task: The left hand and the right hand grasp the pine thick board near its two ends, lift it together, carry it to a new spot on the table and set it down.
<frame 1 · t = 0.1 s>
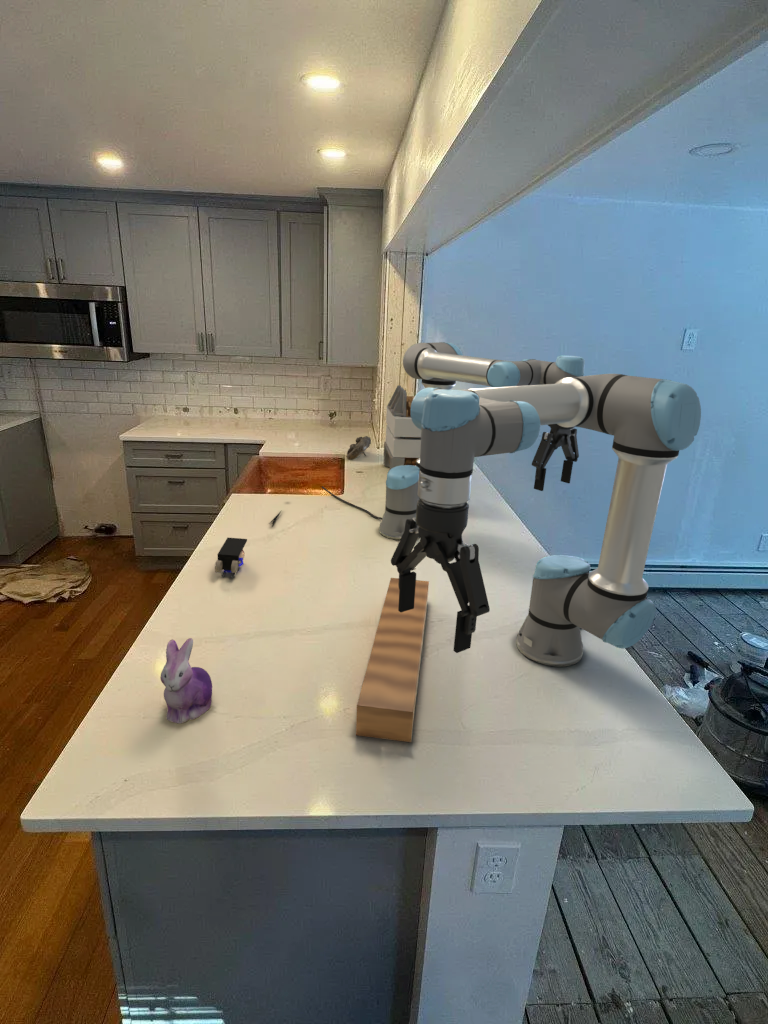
left hand: (552, 486, 166), 28 cm above the counter, tool pointing down, fingers open, 13 cm apart
right hand: (432, 628, 89), 28 cm above the counter, tool pointing down, fingers open, 13 cm apart
fossil: (358, 455, 302), on the counter
figurine: (189, 709, 110), on the counter
feather: (279, 514, 213), on the counter
figurine character: (232, 569, 168), on the counter
thick board: (398, 657, 129), on the counter
toy: (445, 498, 240), on the counter
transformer: (419, 473, 275), on the counter
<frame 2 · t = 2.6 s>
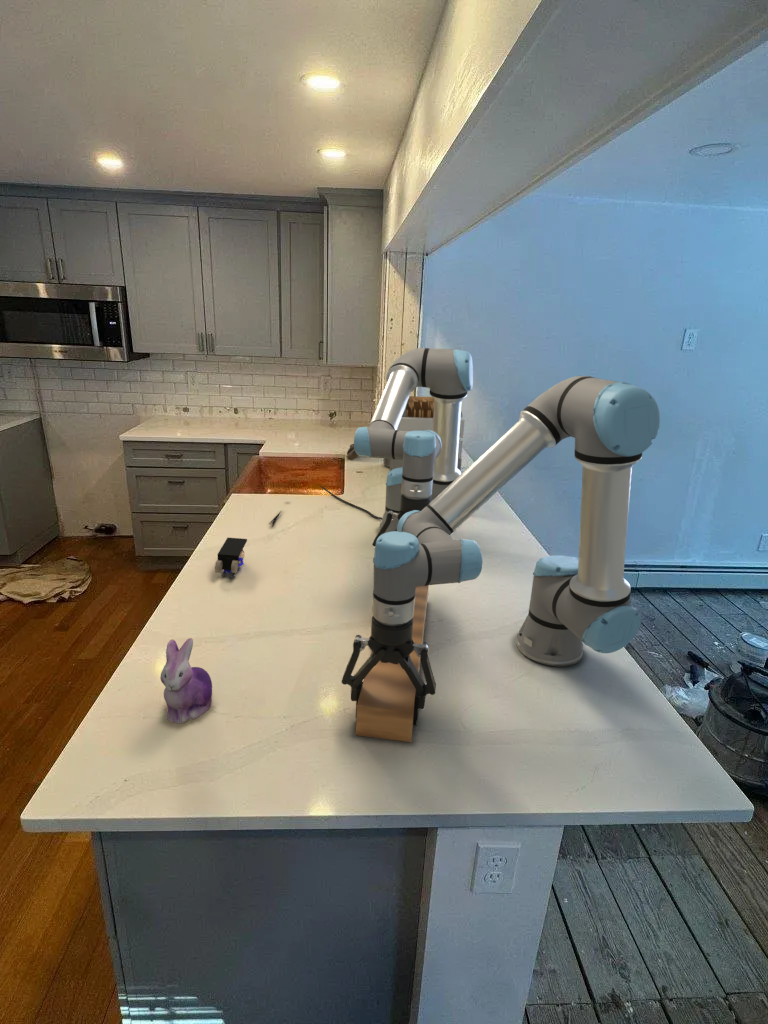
left hand: (411, 574, 145), 11 cm above the counter, tool pointing down, fingers open, 13 cm apart
right hand: (386, 717, 109), 1 cm above the counter, tool pointing down, fingers closed on thick board, 10 cm apart
thick board: (398, 657, 129), on the counter, touching right hand
everything else where it was.
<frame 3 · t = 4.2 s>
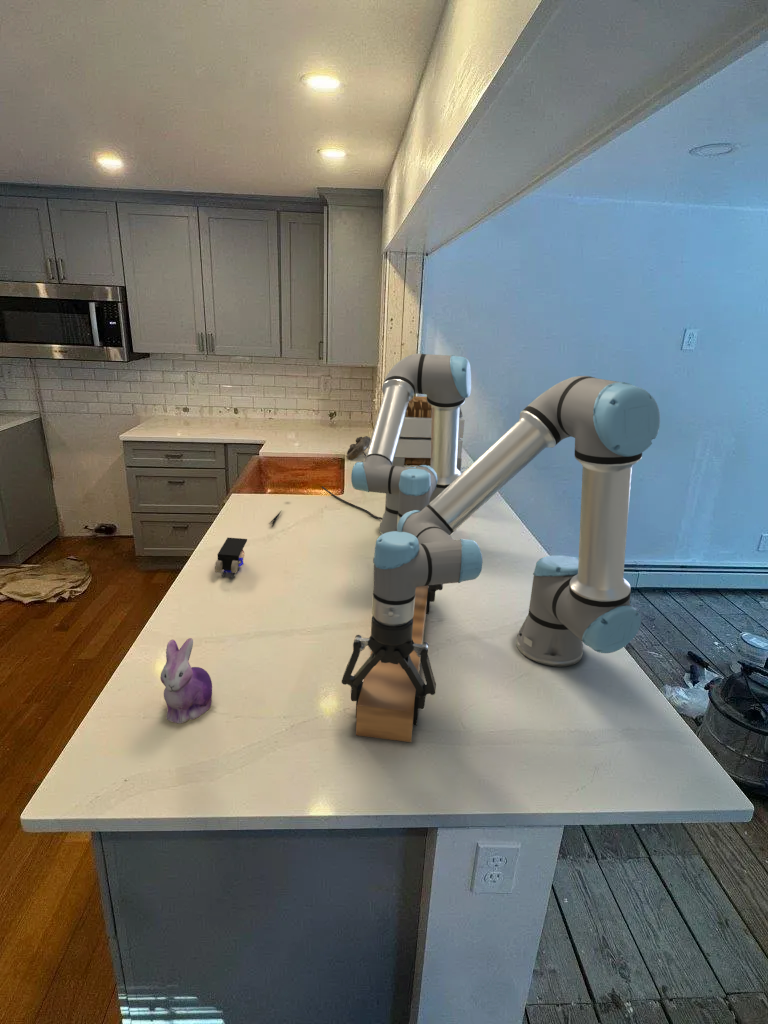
left hand: (406, 609, 149), 1 cm above the counter, tool pointing down, fingers closed on thick board, 10 cm apart
right hand: (386, 717, 109), 1 cm above the counter, tool pointing down, fingers closed on thick board, 10 cm apart
thick board: (398, 657, 129), on the counter, touching left hand, right hand
everything else where it was.
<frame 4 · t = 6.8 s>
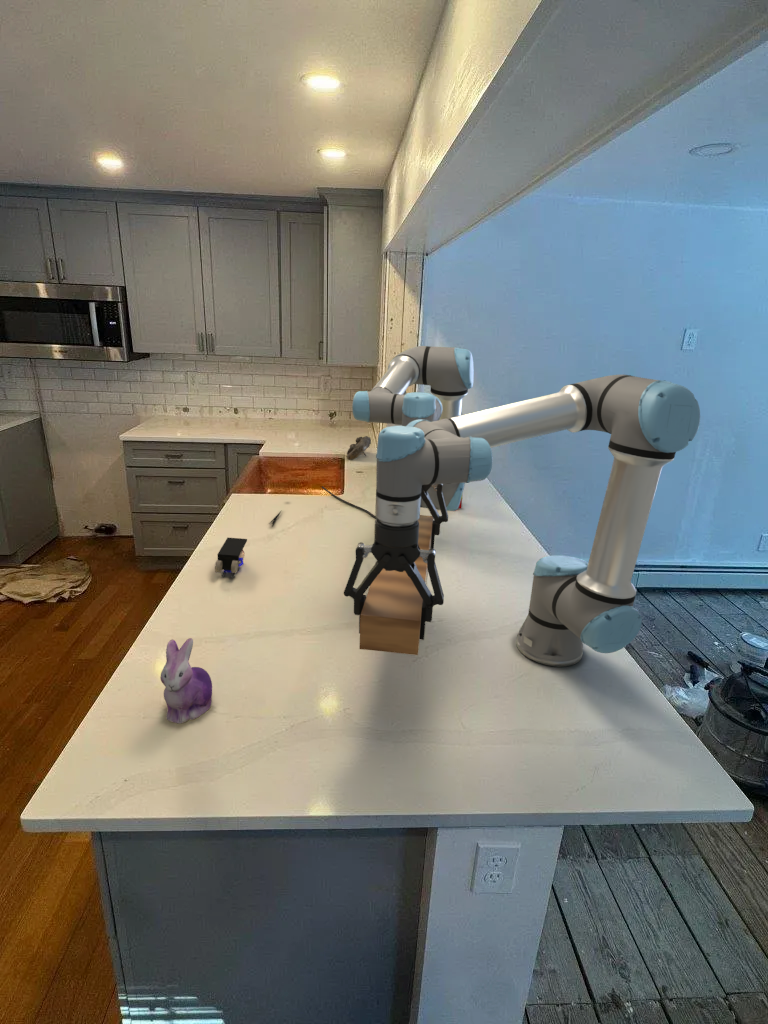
left hand: (410, 544, 143), 19 cm above the counter, tool pointing down, fingers closed on thick board, 10 cm apart
right hand: (392, 632, 103), 19 cm above the counter, tool pointing down, fingers closed on thick board, 10 cm apart
thick board: (402, 584, 123), point 19 cm above the counter, touching left hand, right hand
everything else where it was.
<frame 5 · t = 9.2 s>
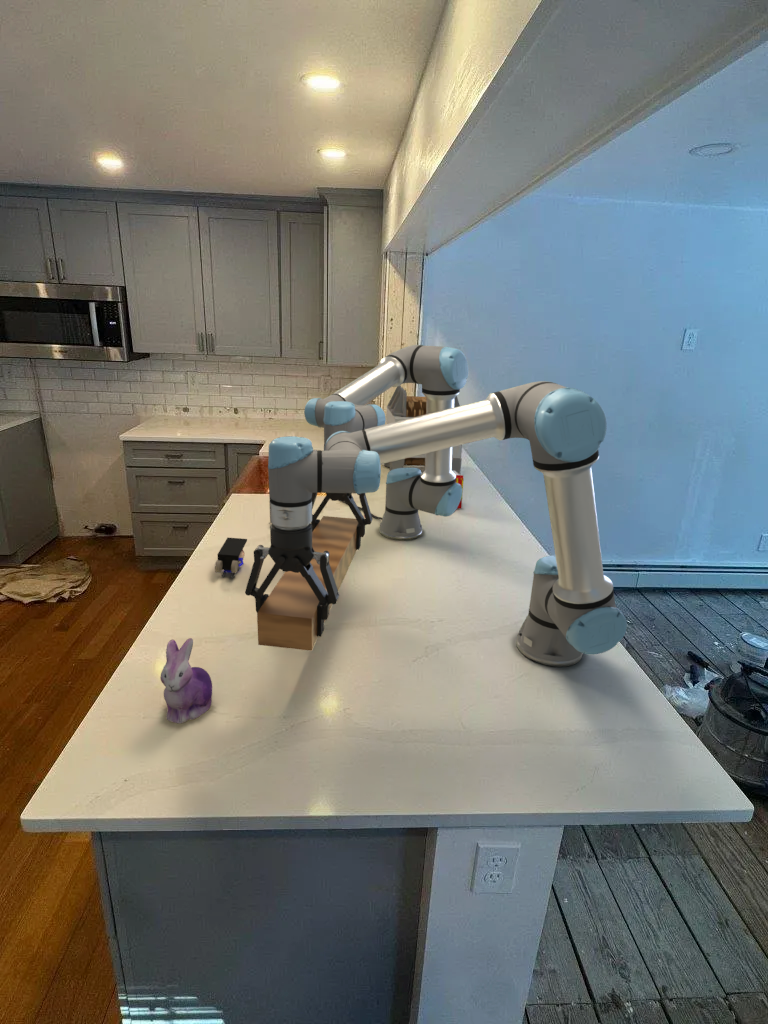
left hand: (337, 545, 149), 15 cm above the counter, tool pointing down, fingers closed on thick board, 10 cm apart
right hand: (292, 629, 110), 15 cm above the counter, tool pointing down, fingers closed on thick board, 10 cm apart
thick board: (318, 584, 130), point 15 cm above the counter, touching left hand, right hand
everything else where it was.
when the left hand's fingers open (2 cm above the counter, at t = 11.2 s): thick board stays where it is, on the counter.
when the right hand's fingers open (2 cm above the counter, at t = 11.2 s): thick board stays where it is, on the counter.
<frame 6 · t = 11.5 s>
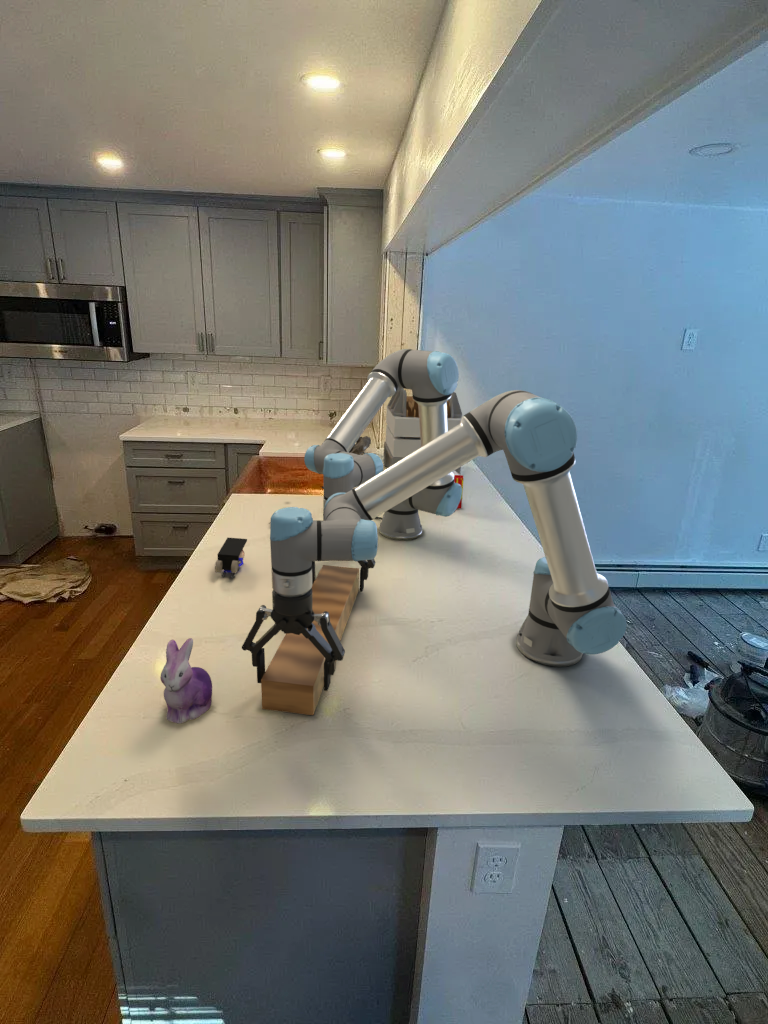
left hand: (336, 587, 154), 3 cm above the counter, tool pointing down, fingers open, 13 cm apart
right hand: (294, 683, 114), 3 cm above the counter, tool pointing down, fingers open, 13 cm apart
thick board: (319, 639, 135), on the counter
everything else where it was.
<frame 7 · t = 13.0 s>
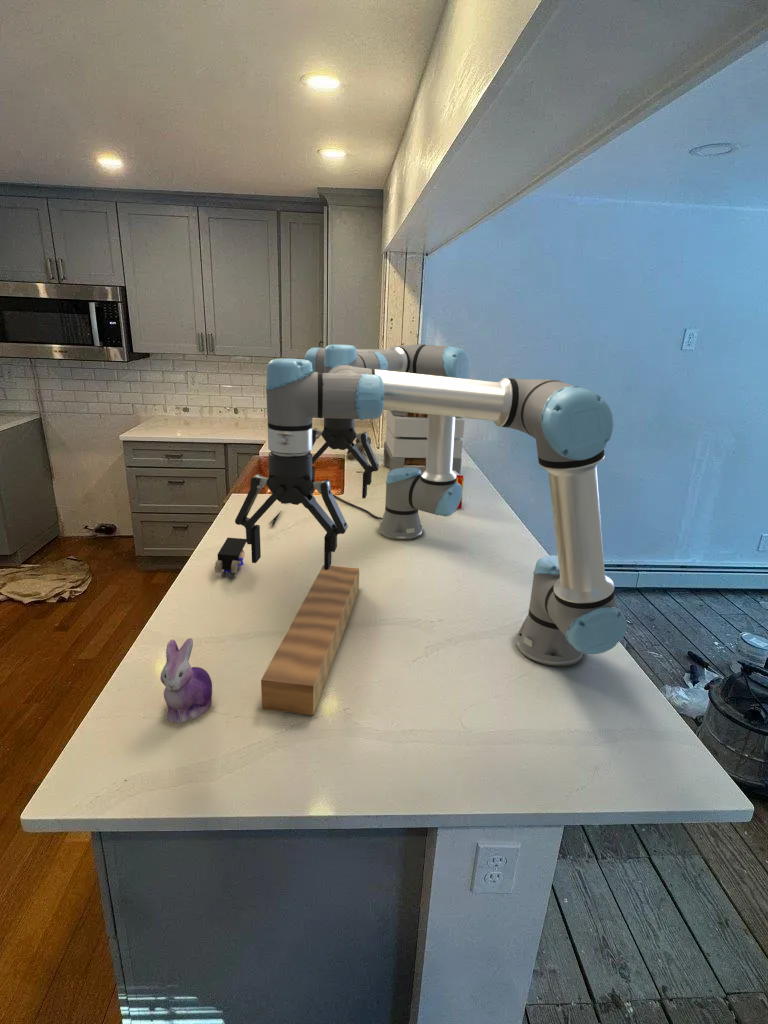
left hand: (338, 494, 144), 30 cm above the counter, tool pointing down, fingers open, 13 cm apart
right hand: (291, 563, 105), 30 cm above the counter, tool pointing down, fingers open, 13 cm apart
nothing on the counter moved.
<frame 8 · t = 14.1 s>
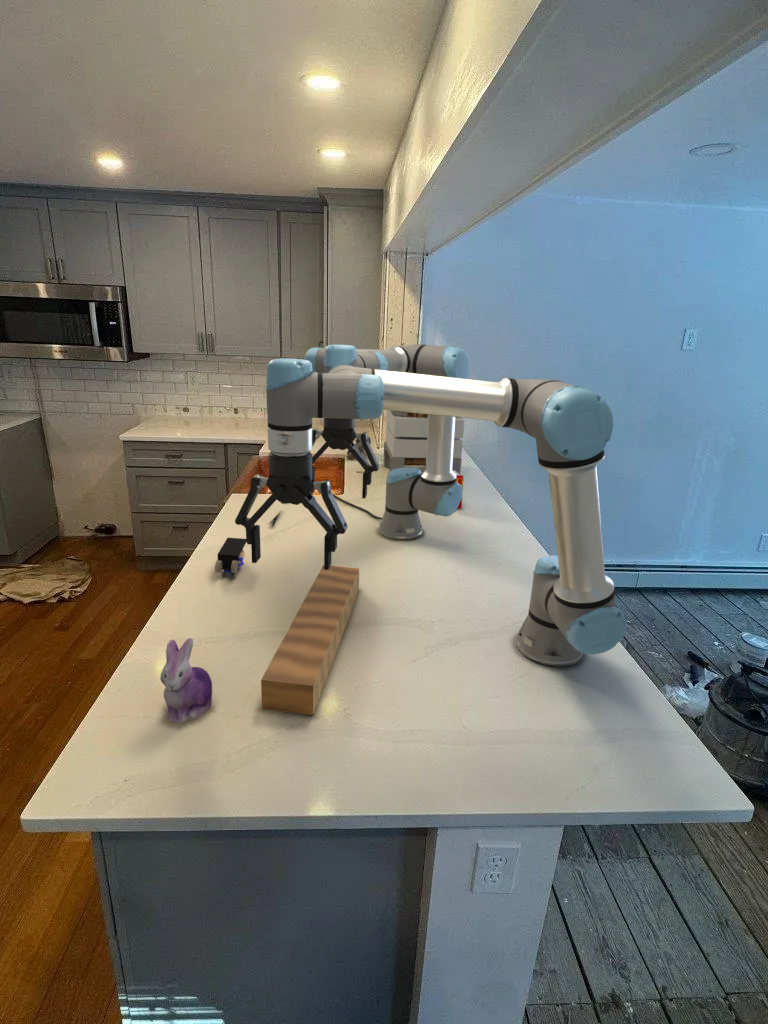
left hand: (338, 494, 144), 29 cm above the counter, tool pointing down, fingers open, 13 cm apart
right hand: (291, 563, 105), 29 cm above the counter, tool pointing down, fingers open, 13 cm apart
nothing on the counter moved.
at the end: thick board inside the target area (0.1 cm from its centre), on the counter; thick board tilted 0°; thick board never tilted more than 1° during the clip; both hands held the thick board at the same time; the left hand is holding nothing; the right hand is holding nothing; thick board at rest at the end (0.0 cm/s) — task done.
